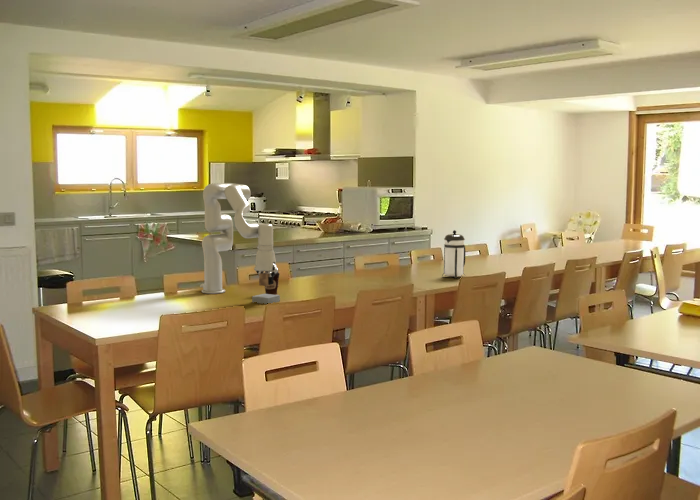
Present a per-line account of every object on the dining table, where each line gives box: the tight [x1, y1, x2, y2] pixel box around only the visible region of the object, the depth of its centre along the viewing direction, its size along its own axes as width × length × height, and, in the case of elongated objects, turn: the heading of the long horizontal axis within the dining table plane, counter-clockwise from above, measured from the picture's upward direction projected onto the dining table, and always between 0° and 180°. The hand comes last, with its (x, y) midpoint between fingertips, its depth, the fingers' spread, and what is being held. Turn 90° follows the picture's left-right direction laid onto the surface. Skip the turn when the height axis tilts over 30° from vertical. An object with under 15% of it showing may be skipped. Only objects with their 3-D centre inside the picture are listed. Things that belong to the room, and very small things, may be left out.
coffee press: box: [441, 229, 466, 279], centre depth 455 cm, size 17×16×30 cm
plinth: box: [251, 293, 281, 305], centre depth 364 cm, size 10×10×3 cm
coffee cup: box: [264, 270, 280, 295], centre depth 384 cm, size 9×8×13 cm
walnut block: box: [258, 272, 273, 287], centre depth 363 cm, size 5×5×6 cm
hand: (266, 283), depth 363 cm, fingers closed on walnut block, 5 cm apart
